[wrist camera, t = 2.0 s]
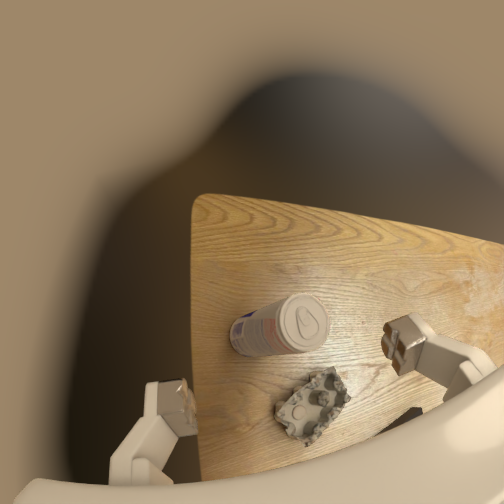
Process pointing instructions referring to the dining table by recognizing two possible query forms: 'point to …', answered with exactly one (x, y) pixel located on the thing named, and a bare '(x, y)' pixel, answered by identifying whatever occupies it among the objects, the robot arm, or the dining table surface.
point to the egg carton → (313, 406)
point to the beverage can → (282, 327)
